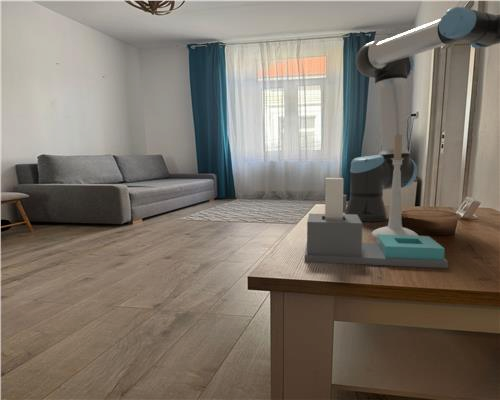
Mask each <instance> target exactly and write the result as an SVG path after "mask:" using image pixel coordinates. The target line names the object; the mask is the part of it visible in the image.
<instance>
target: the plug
mask: <svg viewBox="0 0 500 400" xmlns="http://www.w3.org/2000/svg"><path fill="white" fill-rule="evenodd" d="M324 191H325V194H324V195H325V196H324V197H325V198H324V199H325V200H324V201H325V202H324V203H325V205H324V207H325V209H324V214H325V220H343V214H345V213H346V209H347V194H344V178H343V177H325V190H324Z"/></svg>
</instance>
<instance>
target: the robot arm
mask: <svg viewBox="0 0 500 400" xmlns="http://www.w3.org/2000/svg"><path fill="white" fill-rule="evenodd" d="M460 41H465V42H468V44H469V45H471V47H472V48H474V49H482V48H489V47H491V46H494V45H497V44H498V45H499V44H500V13H499V14H494V13H488V12H484V11H481V10H477V9H476V10H475V9H471V8H469V7H465V6H454V7H451V8H449V9H447V11H446V12H445V13H444V14H443V15H442V16H441V18H439V19H437V20H433V21H431V22H428V23H426V24H423V25H420V26H417V27H414V28H412V29H410V30H407V31H405V32H401V33H399V34H397V35H394V36H392V37H389V38H386V39H384V40H382V39H375V40H373V41H370V42H368V43H366V44H364V45H363V46H362V47H360V49H359V50H358V52H357V53H356V57H355V64H356V65H355V66H356V69H357V70H358V73H360V74H361V75H363V76H365V77H368V78H374V85H375V87H376V88H377V89H378V90H379V110H380V111H379V113H380V116H379V117H380V137H381V138H380V140H381V150H380V152H379V153H378V154H375V155H366V156H359V157H355V158H353V159H352V160H351V162H350V170H349V171H350V172H349V173H350V176H349V177H350V187H349V188H350V190H349V192H350V193H349V194H350V195H349V200H348V203H347V204H346V213H344V214H356V215H358V217H359V218H360V220H361V222H382V221H386V220H387V219H388V212H387V210H386V206H385V202H384V197H383V195H384V192H383V191H384V190H392V181H393V171H394V165H393V164H392V163H393V160H392V159H391V158H394V141H395V135H398V133H399V135H402V152H401V158H404V159H403V160H402V165H401V167H400V171H401V189H405V188H407V187H409V186H411V185H412V184H413V183H414V182H415V181H416V179H417V176H418V165H417V163H416V162H415V160H413V159H411V152H410V151H409V150H407V148H406V130H405V129H406V128H405V127H406V125H405V101H404V100H405V99H404V97H405V95H404V86H405V84H406V83H407V82H408V77H410V76H411V74H412V71H413V70H414V65H415V62H414V56H415V55H418V54H421V53H425V52H427V51H428V52H429V51H430V50H434V49H438V48H440V47H443V46H446V45H450V44H454V43H457V42H460Z"/></svg>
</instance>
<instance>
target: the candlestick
mask: <svg viewBox="0 0 500 400" xmlns="http://www.w3.org/2000/svg"><path fill="white" fill-rule="evenodd" d="M401 152H402V135H399V133H398V135H395V141H394V158H391V159H392V160H393V163H392V164H393V165H394V171H393V181H392V189H391V192H390V193H391V194H390V205H389V215H388V223H387V225H386V226H382V227H378V228H376V229H374V230H373V231H372V232H371V236H372V237H373V238H376V239H377V235H408V236H419V234H418V233H416V232H415V231H413V229H412V230H411V229H410V228H407V227H403V224H402V223H403V222H402V188H401V171H400V167H401V165H402V160H403V159H404V158H401Z"/></svg>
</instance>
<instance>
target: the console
mask: <svg viewBox="0 0 500 400" xmlns="http://www.w3.org/2000/svg"><path fill="white" fill-rule="evenodd" d="M445 252H446V251H445V247H443V246H442V245H441V244H440V243H438V242H437V241H436V240H435V239H433V238H432V237H430V235H418V236H408V235H377V238H376V242H375V243H374V242H363V221H361V220H360V218H359V217H358V215H356V214H345V213H343V220H325V213H308V216H307V223H306V245H305V251H304V262H307V263H325V264H326V263H328V264H350V265H351V264H353V265H367V266H368V265H371V266H390V267H392V266H393V267H396V266H397V267H412V268H413V267H415V268H434V269H435V268H437V269H449V261H448V260H447V259H446V258H445Z"/></svg>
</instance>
